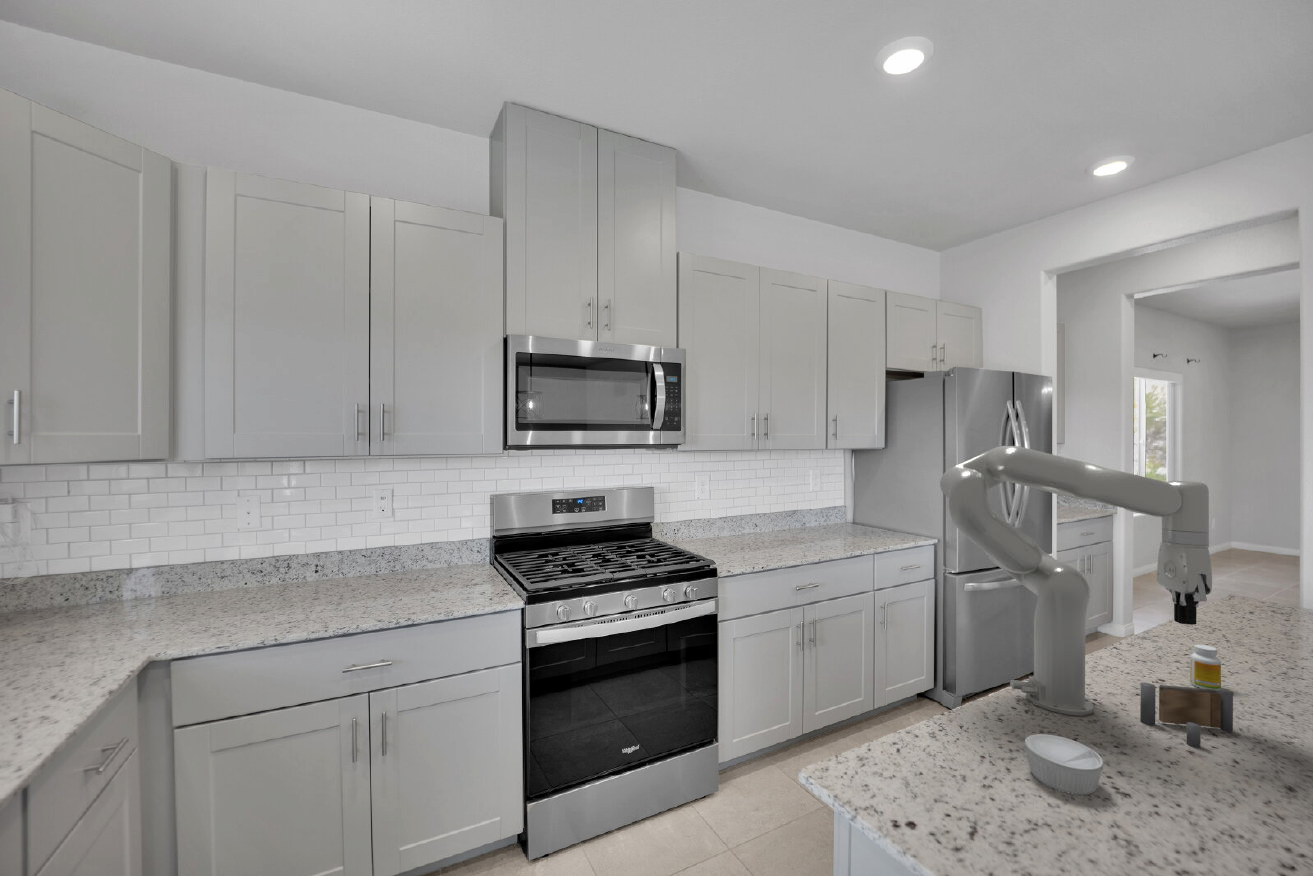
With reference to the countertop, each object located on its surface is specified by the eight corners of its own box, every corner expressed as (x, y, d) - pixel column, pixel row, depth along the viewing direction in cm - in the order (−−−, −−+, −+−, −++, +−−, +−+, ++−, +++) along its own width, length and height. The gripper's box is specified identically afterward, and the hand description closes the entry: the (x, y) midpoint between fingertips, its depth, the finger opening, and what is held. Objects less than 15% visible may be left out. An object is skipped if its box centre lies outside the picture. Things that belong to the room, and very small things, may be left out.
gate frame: (1192, 748, 111) (1193, 706, 111) (1137, 720, 122) (1137, 682, 122) (1203, 747, 111) (1203, 706, 111) (1147, 719, 122) (1147, 682, 122)
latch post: (1224, 732, 117) (1224, 692, 118) (1216, 727, 119) (1216, 688, 120) (1235, 733, 117) (1235, 693, 117) (1227, 728, 119) (1228, 689, 119)
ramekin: (1107, 808, 92) (1107, 776, 92) (1025, 786, 98) (1025, 755, 98) (1098, 774, 102) (1098, 745, 102) (1024, 756, 108) (1024, 728, 108)
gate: (1163, 723, 120) (1163, 686, 120) (1158, 719, 121) (1158, 683, 121) (1220, 728, 118) (1220, 691, 118) (1214, 724, 119) (1214, 688, 119)
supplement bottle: (1227, 692, 136) (1227, 652, 136) (1200, 690, 137) (1200, 650, 137) (1210, 683, 142) (1210, 644, 142) (1184, 681, 143) (1185, 642, 143)
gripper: (1142, 532, 132) (1143, 612, 132) (1189, 543, 117) (1189, 633, 117) (1180, 533, 130) (1181, 614, 130) (1232, 544, 116) (1233, 635, 116)
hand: (1185, 623), depth 124 cm, fingers closed
